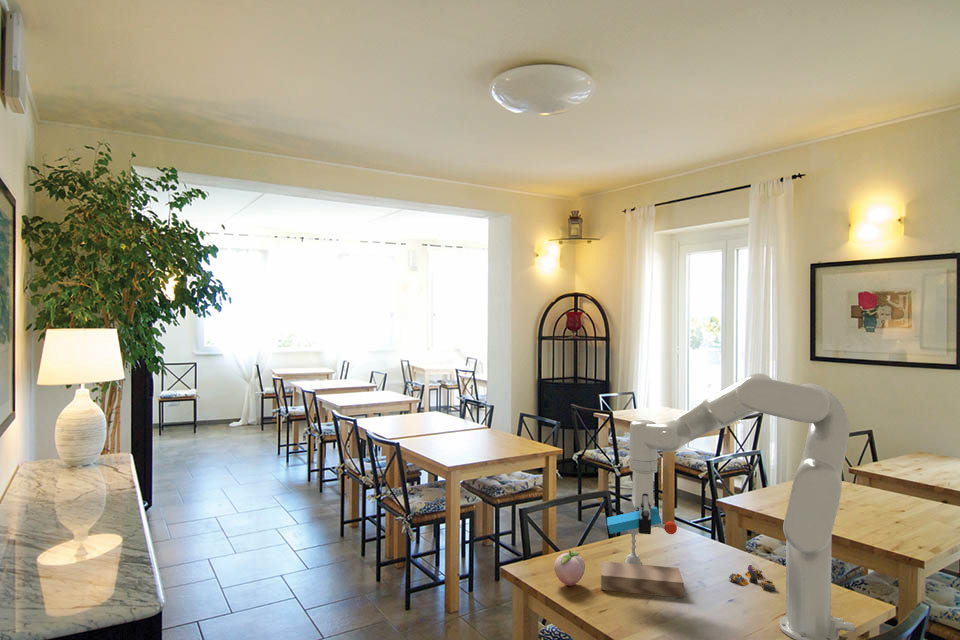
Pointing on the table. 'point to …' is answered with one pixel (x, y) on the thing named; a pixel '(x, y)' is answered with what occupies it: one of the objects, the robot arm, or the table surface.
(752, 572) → the toy set
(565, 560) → the decorative fruit
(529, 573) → the table surface
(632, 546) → the chalice
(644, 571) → the walnut riser block
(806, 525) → the robot arm
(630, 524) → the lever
